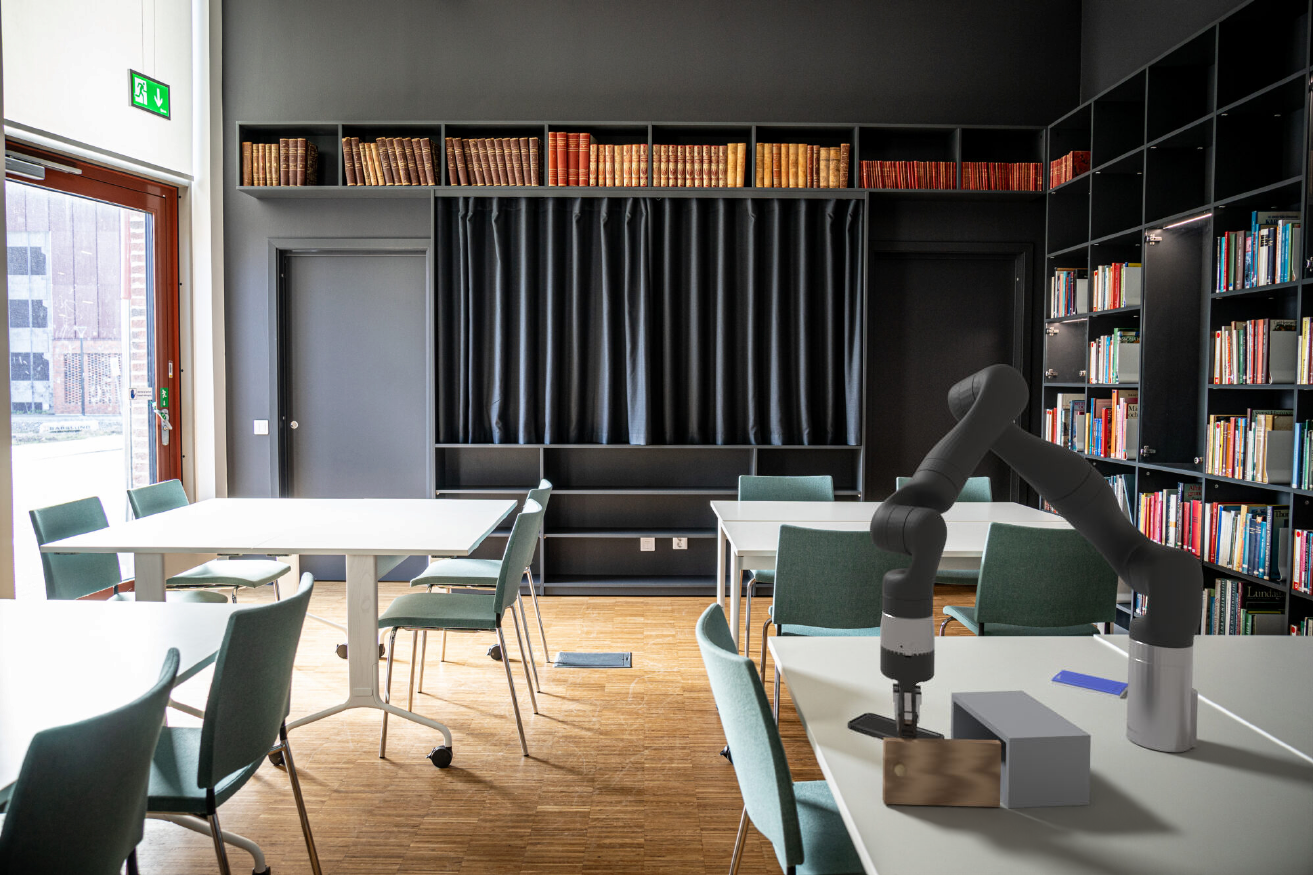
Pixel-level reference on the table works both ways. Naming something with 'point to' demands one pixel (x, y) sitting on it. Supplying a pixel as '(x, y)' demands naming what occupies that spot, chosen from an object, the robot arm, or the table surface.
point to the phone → (885, 727)
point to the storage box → (1027, 747)
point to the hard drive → (1090, 683)
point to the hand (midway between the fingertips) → (906, 758)
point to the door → (941, 772)
